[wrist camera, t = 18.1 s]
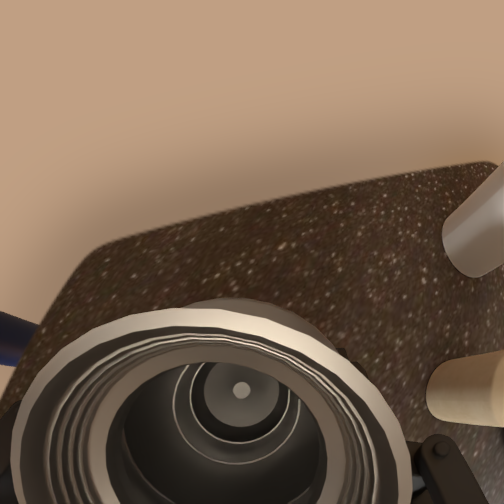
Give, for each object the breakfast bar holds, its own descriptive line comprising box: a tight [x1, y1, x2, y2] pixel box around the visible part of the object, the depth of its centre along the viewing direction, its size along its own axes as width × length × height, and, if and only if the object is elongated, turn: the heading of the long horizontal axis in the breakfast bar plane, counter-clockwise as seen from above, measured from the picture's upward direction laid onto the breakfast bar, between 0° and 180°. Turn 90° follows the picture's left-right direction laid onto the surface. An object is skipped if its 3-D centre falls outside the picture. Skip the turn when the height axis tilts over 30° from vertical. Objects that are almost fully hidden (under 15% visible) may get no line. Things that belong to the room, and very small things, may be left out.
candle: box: [426, 350, 504, 427], centre depth 16 cm, size 6×6×10 cm
